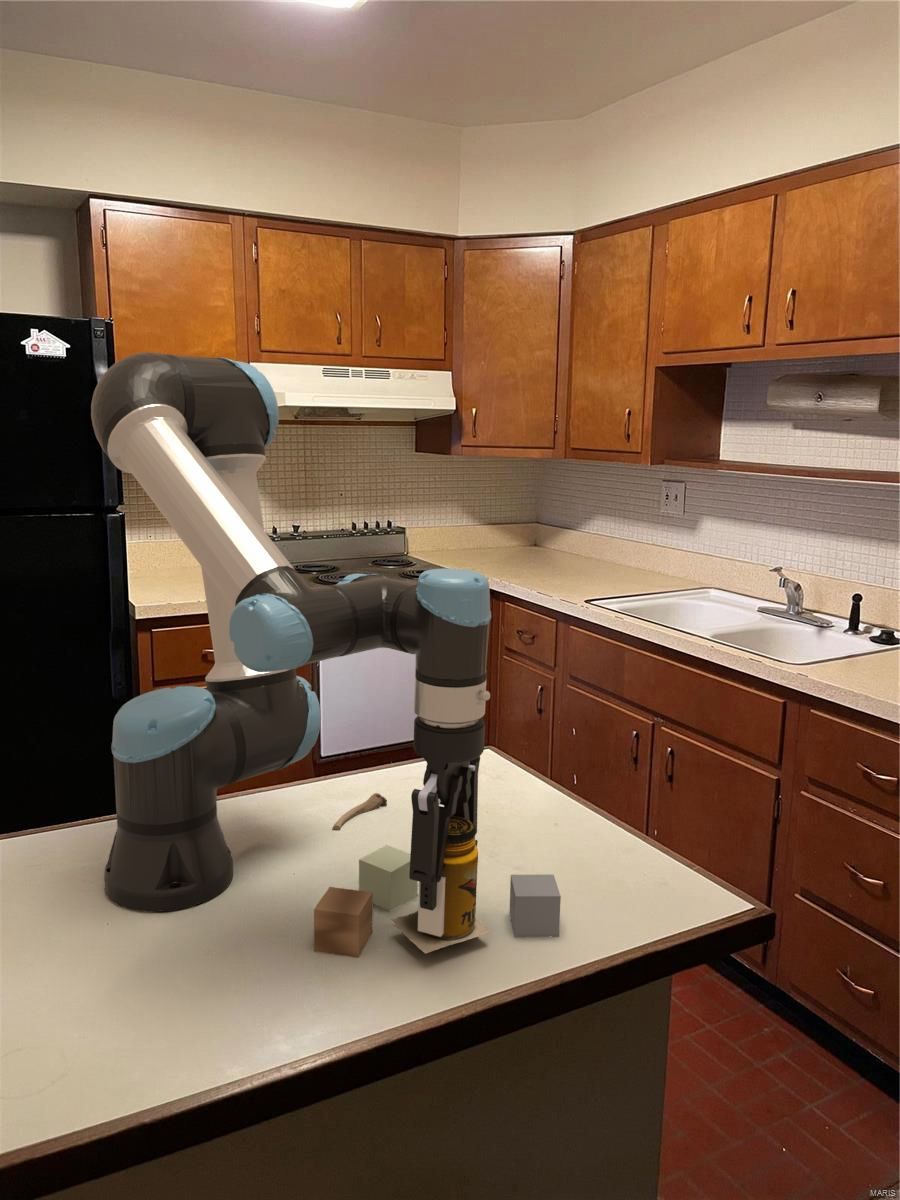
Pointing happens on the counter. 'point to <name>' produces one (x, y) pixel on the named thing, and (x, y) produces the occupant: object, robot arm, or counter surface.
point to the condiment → (452, 892)
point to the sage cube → (387, 877)
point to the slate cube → (534, 906)
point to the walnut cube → (343, 922)
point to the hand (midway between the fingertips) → (442, 916)
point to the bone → (361, 809)
